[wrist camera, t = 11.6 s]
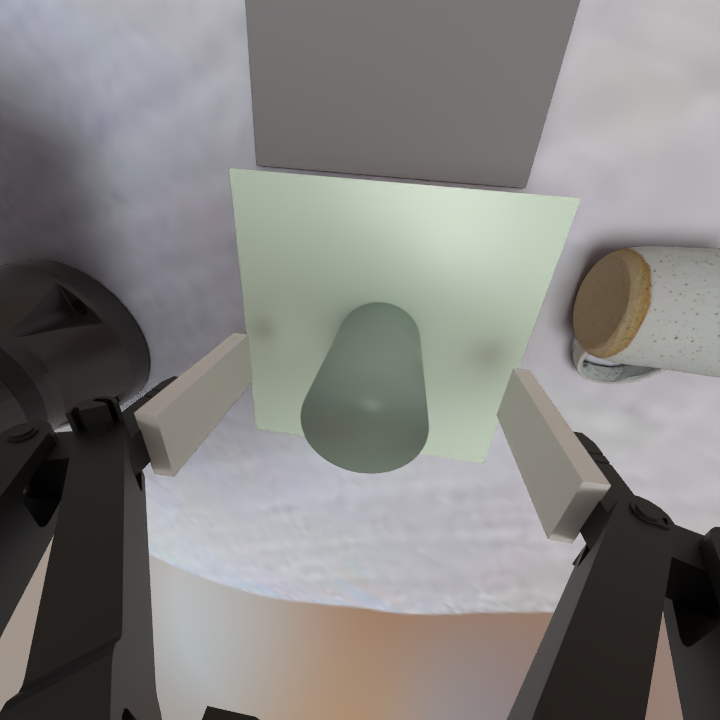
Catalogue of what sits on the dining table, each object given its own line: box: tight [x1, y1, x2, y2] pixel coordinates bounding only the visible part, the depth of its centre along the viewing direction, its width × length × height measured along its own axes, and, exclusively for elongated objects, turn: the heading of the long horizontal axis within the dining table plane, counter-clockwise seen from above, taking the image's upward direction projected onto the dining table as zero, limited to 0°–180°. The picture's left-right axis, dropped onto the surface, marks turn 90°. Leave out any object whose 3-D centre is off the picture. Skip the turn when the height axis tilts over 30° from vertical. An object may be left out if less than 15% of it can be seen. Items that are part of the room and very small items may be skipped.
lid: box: [229, 168, 581, 473], centre depth 16 cm, size 17×17×9 cm
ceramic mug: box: [573, 246, 720, 384], centre depth 20 cm, size 11×8×8 cm
